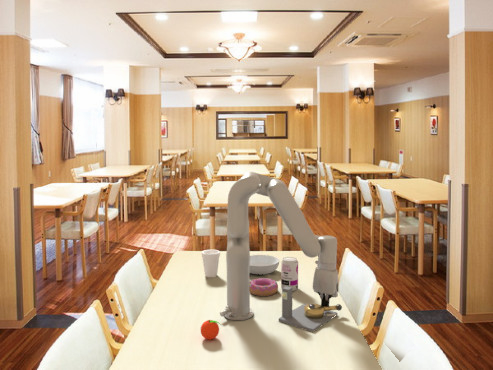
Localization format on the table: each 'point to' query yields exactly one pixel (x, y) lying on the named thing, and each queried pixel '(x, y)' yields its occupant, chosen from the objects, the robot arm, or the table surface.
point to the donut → (263, 287)
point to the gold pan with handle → (318, 310)
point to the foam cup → (210, 262)
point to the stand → (300, 313)
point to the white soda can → (289, 273)
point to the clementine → (210, 329)
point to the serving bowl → (263, 264)
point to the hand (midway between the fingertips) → (325, 307)
